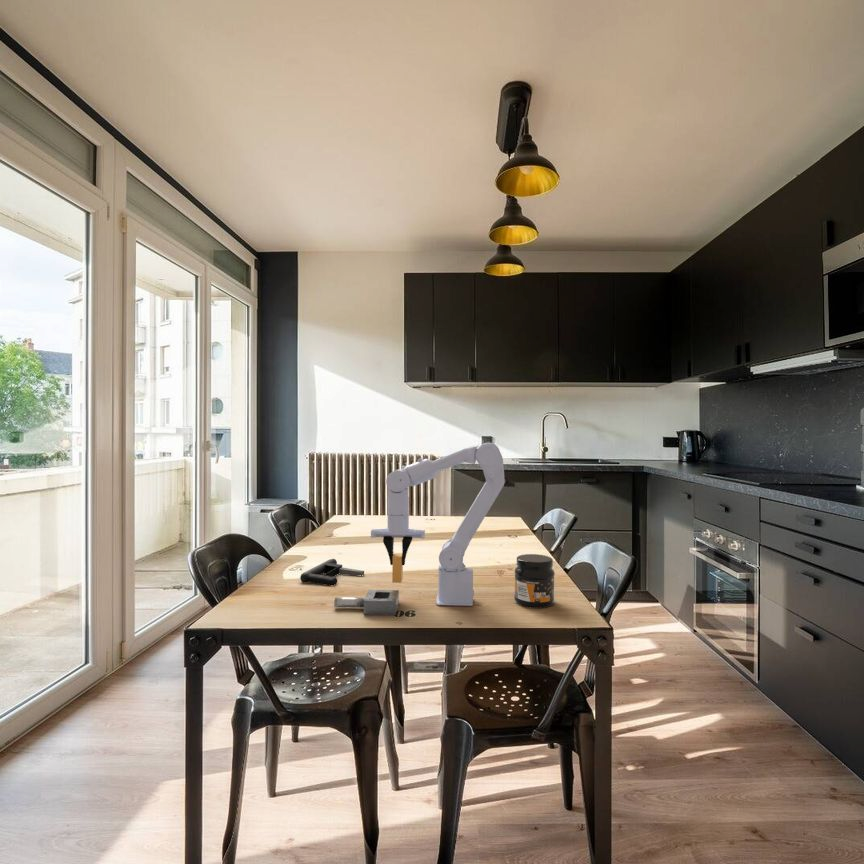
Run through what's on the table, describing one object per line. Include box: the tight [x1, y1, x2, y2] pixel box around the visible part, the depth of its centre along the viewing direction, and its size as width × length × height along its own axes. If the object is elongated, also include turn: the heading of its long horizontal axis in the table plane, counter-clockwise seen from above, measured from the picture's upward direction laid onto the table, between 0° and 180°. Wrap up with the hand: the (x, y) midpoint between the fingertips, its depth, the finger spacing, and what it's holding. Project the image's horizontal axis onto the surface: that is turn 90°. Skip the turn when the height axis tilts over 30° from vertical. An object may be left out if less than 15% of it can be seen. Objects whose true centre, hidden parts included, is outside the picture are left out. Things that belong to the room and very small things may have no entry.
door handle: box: [299, 558, 365, 586], centre depth 172 cm, size 3×20×16 cm
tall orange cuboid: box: [391, 552, 404, 584], centre depth 150 cm, size 2×4×7 cm, turn 178°
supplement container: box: [514, 553, 556, 609], centre depth 148 cm, size 10×10×12 cm
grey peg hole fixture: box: [333, 589, 400, 616], centre depth 142 cm, size 16×9×4 cm, turn 89°
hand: (397, 564), depth 150 cm, fingers closed on tall orange cuboid, 2 cm apart
